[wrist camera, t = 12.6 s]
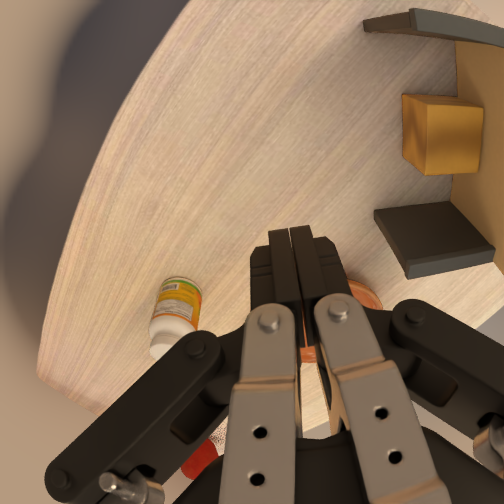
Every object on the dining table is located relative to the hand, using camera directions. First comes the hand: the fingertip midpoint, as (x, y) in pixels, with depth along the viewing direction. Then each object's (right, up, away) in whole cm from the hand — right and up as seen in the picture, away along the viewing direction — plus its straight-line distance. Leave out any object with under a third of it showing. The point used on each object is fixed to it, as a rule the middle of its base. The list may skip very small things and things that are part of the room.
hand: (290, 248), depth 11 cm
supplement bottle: (-10, -5, +27) cm, 29 cm away
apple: (-15, -49, +59) cm, 78 cm away
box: (+16, +12, +14) cm, 25 cm away
